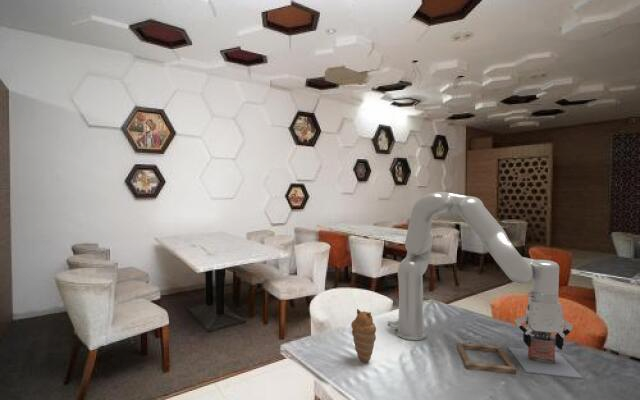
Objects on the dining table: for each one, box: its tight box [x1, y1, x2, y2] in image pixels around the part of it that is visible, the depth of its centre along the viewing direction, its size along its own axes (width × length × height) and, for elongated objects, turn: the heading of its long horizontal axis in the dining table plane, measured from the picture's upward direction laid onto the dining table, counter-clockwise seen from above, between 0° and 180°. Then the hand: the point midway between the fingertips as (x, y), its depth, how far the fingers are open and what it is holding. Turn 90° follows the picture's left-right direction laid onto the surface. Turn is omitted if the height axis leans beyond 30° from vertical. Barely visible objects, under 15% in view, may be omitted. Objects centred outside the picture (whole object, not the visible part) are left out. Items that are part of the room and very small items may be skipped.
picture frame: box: [456, 342, 517, 375], centre depth 113 cm, size 15×15×2 cm
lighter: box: [527, 331, 556, 364], centre depth 112 cm, size 8×3×10 cm, turn 69°
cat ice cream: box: [350, 308, 377, 363], centre depth 112 cm, size 9×8×18 cm
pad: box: [508, 347, 584, 380], centre depth 111 cm, size 16×16×1 cm
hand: (542, 346), depth 111 cm, fingers open, 9 cm apart
